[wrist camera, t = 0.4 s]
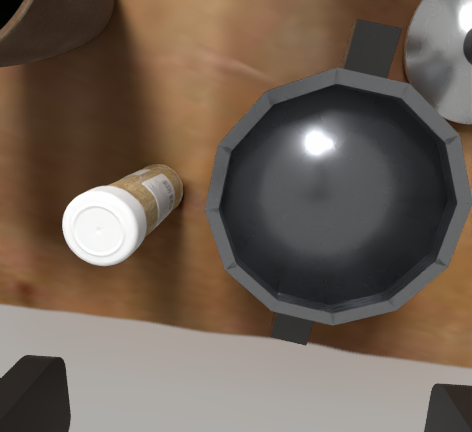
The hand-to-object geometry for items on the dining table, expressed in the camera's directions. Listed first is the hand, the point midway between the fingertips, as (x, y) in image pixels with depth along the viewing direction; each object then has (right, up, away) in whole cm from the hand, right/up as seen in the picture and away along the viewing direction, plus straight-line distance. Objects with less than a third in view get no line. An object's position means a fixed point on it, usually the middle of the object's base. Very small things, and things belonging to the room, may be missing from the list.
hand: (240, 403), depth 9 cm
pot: (+7, +7, +25) cm, 27 cm away
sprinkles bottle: (-7, +7, +27) cm, 29 cm away
